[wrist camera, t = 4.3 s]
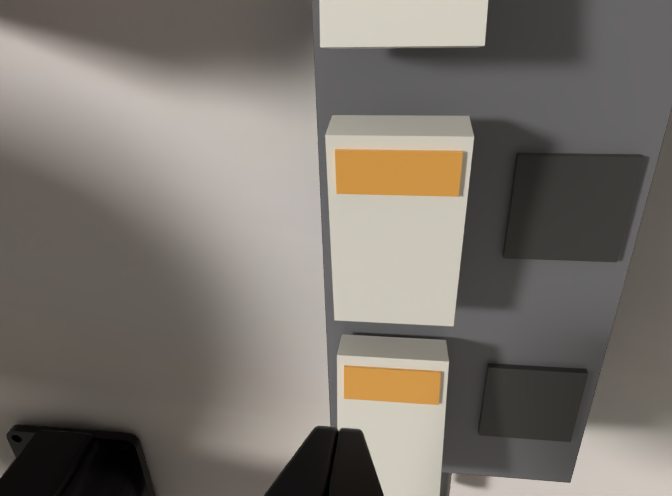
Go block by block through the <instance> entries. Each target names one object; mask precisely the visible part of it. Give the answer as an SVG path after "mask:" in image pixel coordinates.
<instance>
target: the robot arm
mask: <svg viewBox="0 0 672 496" xmlns="http://www.w3.org/2000/svg"><path fill="white" fill-rule="evenodd" d="M7 439H8V441H9V443H10V446H11V448H12V450H13V452H14V454H15V457H16V458H15V460H14V461H13V462H12V464H11V465H10V466H9V468H8V469H7V470H6V471H5V473H4V474H3V475H2V477H1V478H0V496H155V494H154V490H153V486H152V483H151V479H150V476H149V472H148V469H147V465H146V462H145V458H144V455H143V451H142V448H141V444H140V441H139V439H138V438H137V437H136V436H134V435H132V434H128V433H117V432H104V431H92V430H79V429H66V428H54V427H41V426H28V425H14V426H13V427H12V428H11V429H10V430H9V432H8V433H7ZM264 496H384V494H383V491H382V488H381V485H380V482H379V479H378V476H377V473H376V470H375V467H374V464H373V461H372V458H371V455H370V452H369V449H368V446H367V443H366V440H365V437H364V434H363V432H362V430H360V429H354V428H341V429H340V430H338V429H337V428H336V427H328V426H317V427H315V428H314V429H313V430H312V431H311V433H310V434H309V436H308V437H307V438H306V440H305V441H304V442H303V444H302V445H301V446H300V448H299V449H298V450H297V452H296V453H295V454H294V456H293V457H292V458H291V460H290V461H289V462H288V464H287V465H286V466H285V468H284V469H283V470H282V472H281V473H280V474H279V476H278V477H277V479H276V480H275V481H274V483H273V484H272V485H271V487H270V488H269V489H268V491H267V492H266V493H265V495H264Z"/></svg>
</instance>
